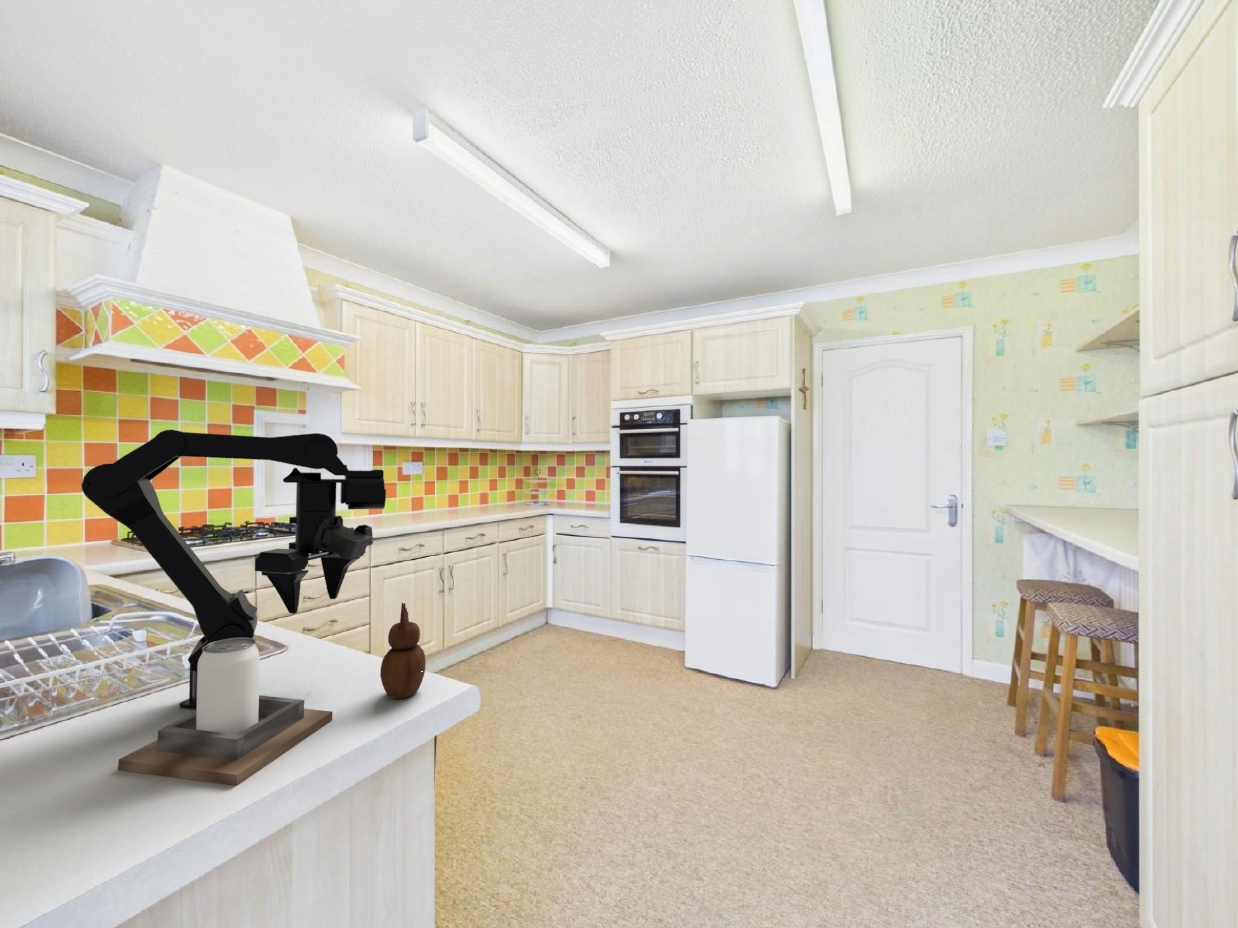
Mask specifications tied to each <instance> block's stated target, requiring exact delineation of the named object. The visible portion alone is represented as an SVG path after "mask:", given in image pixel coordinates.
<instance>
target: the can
mask: <svg viewBox="0 0 1238 928" xmlns="http://www.w3.org/2000/svg"><path fill="white" fill-rule="evenodd" d="M256 643H257V640H256V639H255V638H254V637H253V638H230V639H224V640H219V641H215V642H212V643H209V644H207V645H205V646H204V647H203V648H202V650H203V653H202V655H201V656H200V658H199V660H198V669H197V708H196V711H197V714H196V730H202V731H210V732H219V733H228V734H236V735H237V734H239V733H240V732H242V731H244V730H246V729H247V728H249V727H251V726H252V725H254V724H256V723H258V712H259V695H260V650H259V649H258V647H257V644H256Z"/></svg>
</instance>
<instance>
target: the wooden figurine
mask: <svg viewBox="0 0 1238 928" xmlns="http://www.w3.org/2000/svg"><path fill="white" fill-rule="evenodd" d="M400 609H401V610H400V618H399V620H400V621H399V622H397V623H395V624H393V625H392V626H391V627H390V629H389V632H388V634H387V635H388V636H387V639H388V640H387V641H388V644H389V646H390V649H389V650H388V651H387V652H386V654H385V655H384V656H383V659H382V661H381V663H380V664H381V665H380V674H379V676H380V680H381V683H382V687H383V690H384V691H385V693H386V695H387V696H388V697H390V698H392V699H397V700H398V699H405V698H408V697H411V696H412V695H414V694H416V693H417V692H418V691H419V690H420V687H421V684H422V683H423V680H424V677H425V673H426V672H425V671H426V663H427V662H426V655H425V651H424V649H423V648H422V646H421V645H420V644H418V643H419V642H420V637H421V630H420V627H419V625H418V624H417V623H416V622H413V621H409V618H410V617H409V611H408V608H407V606H406V603H405V602H401V608H400ZM421 671H423V672H421Z"/></svg>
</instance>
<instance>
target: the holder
mask: <svg viewBox="0 0 1238 928" xmlns="http://www.w3.org/2000/svg"><path fill="white" fill-rule="evenodd" d="M196 714H197V710H195V711H194V712H191V713H190V714H188V715H187V716H185V717H181V718H180V719H178V720H176V721H173V722H172V723H169V724H168V725H166V726H164V727H161V728H159V729H157V739H156V740H154V741H152V742H150V743H148V744H146V745H144V746H142V747H140V748H138V749H136V750H135V751H134V750H133V751H132V752H130V753H128V754H126V755H124V756H123V757H120V758H118V761H117V765H118V766H117V770H118V771H124V772H125V771H127V772H135V773H141V774H142V773H143V774H149V775H157V776H163V777H164V776H165V777H172V778H178V779H187V780H195V781H202V782H209V783H216V784H217V783H218V784H224V785H232V786H239V785H240V784H241V783H242V782H244V781H245V780H247V779H248V778H250V777H251V776H253V775H255V774H256V773H257V772H258V771H260V770H262V769H263V768H264V767H266V766H268V765H269V764H270V763H272V762H273V761H274V760H277V758H279V757H280V756H282V755H284V754H285V753H286V752H288V751H289V750H291V749H292V748H293V747H295V746H296V745H298V744H300V743H301V742H302V741H304V740H305V739H307V738H309V737H310V736H311V735H312V734H314V733H315V732H317V731H318V730H319V729H322V728H323V727H324V726H326V725H327V724H329V723H330V722H331V721H333V711H331V710H321V709H313V708H311V709H310V708H305V699H299V698H289V697H279V696H269V695H260V694H259V712H258V723H256V724H254V725H252V726H251V727H249V728H247V729H246V730H244V731H242V732H240V733H239V734H237V735H236V734H228V733H219V732H210V731H202V730H196Z"/></svg>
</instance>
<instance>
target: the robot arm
mask: <svg viewBox="0 0 1238 928" xmlns="http://www.w3.org/2000/svg"><path fill="white" fill-rule="evenodd" d="M338 453H339V451H338V445H337V443H336V442H335V440H333V438H332V437H331V436H329V435H327V434H324V433H318V432H317V433H316V432H314V433H304V434H291V435H282V436H272V437H270V436H269V437H268V436H254V435H253V436H251V435H235V434H223V433H222V434H219V433H205V432H187V431H186V432H185V431H181V430H176V429H165V430H163V431H162V430H161V431H160V432H159V433H157V434H156V435H155V436H154V437H153V438H151V439H150V440H149V441H147V442H146V443H144V444H142V445H140V446H138V447H136V449H134V450H132V451H130V452H128V453H127V454H125V455H123V456H122V457H120V458H119V459H118V460H116V461H114V462H113V463H104V464H103V463H102V464H100V465H96V466H94V467H93V468H91V469H90V470H88V471H87V472H86V474H85V475H84V476H83V479H82V483H81V484H80V485H81V486H80V487H81V491H82V492H83V494H84V496H85V497H86V498H87V499H88V500H89V501H90V502H92V503H93V505H95V506H96V507H97V508H99V509H100V510H101V511H102V512H104V513H105V514H106V515H107V516H109V517H111V518H113V519H114V520H115V521H117V522H119V524H121V525H123V526H125V527H126V528H128V530H130V531H131V532H132V534H133V535H134V536H135V537H136V538H137V540H138V541H139V543H141V545H142V546H143V547H144V549H146V551H147V552H148V553H149V555H150V556H151V557H152V558H153V559H154V560H155V562H156V563H157V565H159V568H161V569H162V570H163V571H164V573H165V574H166V576H167V577H168V578H169V580H171V582H173V584H174V586H175V587H176V588H177V589H178V591H180V593H181V594H182V595H183V597H185V599H186V601H188V602H189V604H190V606H192V608H193V611H194V614H195V617H196V620H197V623H198V625H199V629H200V631H201V632H202V635H203V636H202V637H201V638H200V639H199V640H198V641H197V643H196V645H195V646H194V648H193V650H192V651H191V653H190V655H189V656H188V658H187V661H188V663H189V689H188V690H189V693H188V695H189V696H188V697H189V698H186V699H185V700H182V701H180V702H179V705H178V706H179V707H181V708H189V709H190V708H191V709H197V669H198V660H199V658H200V656H201V655H202V653H203V650H202V648H203V647H204V646H205V645H207V644H209V643H212V642H215V641H219V640H224V639H230V638H253V639H254V636H255V632H256V628H257V625H258V616H257V612H258V607H256V606H255V605H253V604H252V603H251V602H250V601H249V600H248V597H247V595H246V593H245V592H244V590H243V589H239V591H237V592H236V593H235V594H233V593H230V592H229V591H228V590H227V589H225V588H223V587H222V586H221V585H220V583H219V582H218V581H217V580H216V579H215V577H214V576H213V575H212V573H211V572H210V571H209V570H208V568H207V567H206V566H205V564H204V563H203V562H202V560H201V559H200V558H199V557H198V556H197V555H196V553H195V551H194V550H193V549H192V548H191V547H190V546H189V544H188V543H187V542H186V540H185V539H184V537H182V535H181V534H180V533H179V531H178V530H177V529H176V528H175V526H174V525H173V524H172V522H171V521H170V520H169V519H168V517H167V516H166V514H165V513H164V511H163V509H162V507H161V504H160V501H159V498H158V497H159V496H158V495H157V491H156V490H155V488H154V486H153V483H152V480H153V479H154V478H156V477H158V475H160V474H161V473H163V472H164V471H165V470H166V469H167V468H168V467H170V466H171V465H172V464H173V463H175V462H176V461H177V460H179V459H181V458H182V457H190V458H192V457H194V458H213V459H214V458H217V459H238V460H240V459H242V460H259V461H260V460H261V461H272V462H278V463H282V464H286V465H287V464H288V465H291V466H292V465H293V466H298V467H301V468H307V469H312V470H322V469H323V470H326V471H327V472H329V473H331V474H332V475H334V476H344V478H322V472H307V471H305V472H303V471H302V472H301V471H300V470H299V469H298V468H297V467H293V469H292V471H291V472H289V474H288V475H286V476H285V477H284V478H283V479H282V482H283V483H286V484H289V483H291V484H293V483H294V484H295V483H296V487H295V488H296V490H295V492H296V493H295V494H296V495H295V497H296V498H295V499H296V500H295V516H290V517H289V524H290V525H291V524H292V525H295V535H294V536H295V538H294V539H295V541H292V542H289V543H288V548H275V549H269V550H265V551H260V552H259V553H258V554H257V556H255V558H254V572H261V576H264V577H265V576H266V578H267V579H268V580H269V581H270V583H271V585H272V586H273V587H274V589H275V590H276V592H277V594H278V595H279V596H280V599H281V601H282V602H283V604H284V606H285V608H286V610H287V611H288V613H289V614H293V615H294V614H295V615H296V614H297V613H298V609H299V603H300V593H301V584H302V579H303V578H304V577H305V576H306V575H307V574H308V573H309V572H310V571H309V570H308V569H307V570H306V568H307V566H308V564H309V561H312V560H317V559H320V562H321V565H322V566H321V567H322V571H323V576H324V581H325V585H326V592H327V595H328V598H329V599H330V600H336V599H337V598H338V595H339V593H340V590H341V586H342V585H343V581H344V579H345V577H346V574H347V572H348V570H349V568H350V566H351V565H353V564H354V563H355V562H356V561H358V560H359V559H361V557H363V556H364V555H365V554H366V549H367V547H368V546H372V545H373V544H374V541H373V537H374V536H373V527H372V526H369V525H368V524H360V525H357V526H356V527H355V528H354V527H347V526H345V525H344V519H343V518H342V515H336V514H337V484H339V483H340V495H339V496H340V498H339V500H340V504H341V505H343V504H345V506H347V510H353V511H354V510H384V509H385V506H386V500H387V499H386V498H387V497H386V495H387V489H386V488H385V487H386V486H385V478H384V474H385V472H384V470H383V469H370V470H351V469H350V470H349V469H348V465H347V464H344V463H343V462H342V460H341V458H339V457H338Z"/></svg>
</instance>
